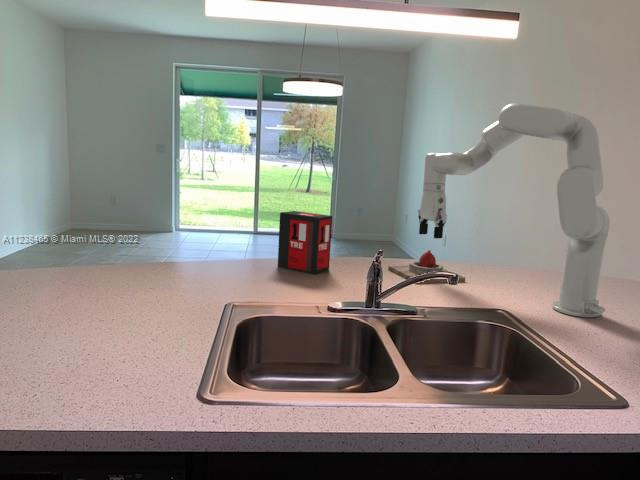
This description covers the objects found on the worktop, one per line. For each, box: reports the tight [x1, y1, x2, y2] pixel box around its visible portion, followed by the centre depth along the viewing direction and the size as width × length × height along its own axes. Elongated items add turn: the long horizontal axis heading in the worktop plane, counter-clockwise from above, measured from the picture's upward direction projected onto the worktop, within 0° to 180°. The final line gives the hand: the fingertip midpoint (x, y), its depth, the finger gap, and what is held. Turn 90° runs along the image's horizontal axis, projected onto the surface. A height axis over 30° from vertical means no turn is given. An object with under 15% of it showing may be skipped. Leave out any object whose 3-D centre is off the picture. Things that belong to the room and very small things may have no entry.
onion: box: [419, 249, 437, 268], centre depth 183 cm, size 6×6×8 cm
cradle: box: [387, 260, 466, 284], centre depth 183 cm, size 20×20×4 cm
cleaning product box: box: [277, 210, 333, 276], centre depth 181 cm, size 16×9×20 cm, turn 58°
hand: (430, 236), depth 181 cm, fingers open, 9 cm apart
